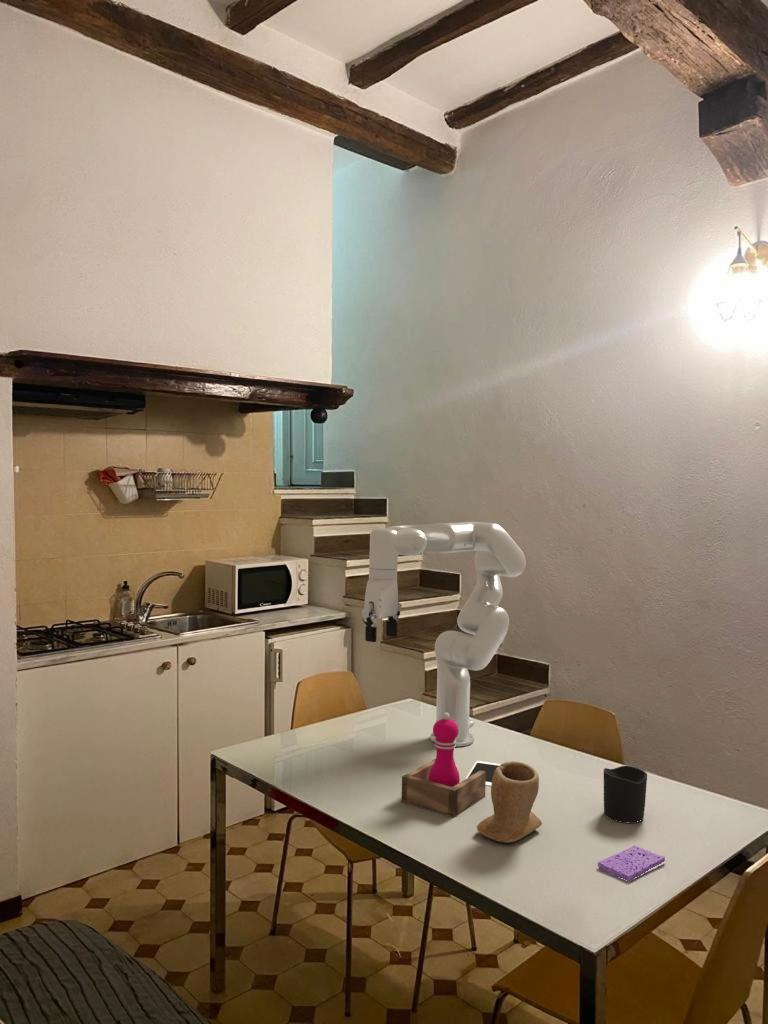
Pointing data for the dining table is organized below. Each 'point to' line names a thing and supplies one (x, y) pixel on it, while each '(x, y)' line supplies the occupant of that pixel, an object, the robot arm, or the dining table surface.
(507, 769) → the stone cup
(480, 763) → the cell phone
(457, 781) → the pepper mill
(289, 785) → the dining table surface
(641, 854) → the sponges
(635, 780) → the pen holder
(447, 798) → the holder
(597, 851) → the dining table surface
